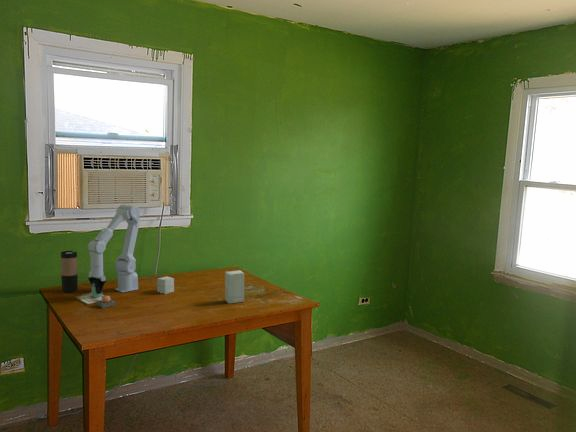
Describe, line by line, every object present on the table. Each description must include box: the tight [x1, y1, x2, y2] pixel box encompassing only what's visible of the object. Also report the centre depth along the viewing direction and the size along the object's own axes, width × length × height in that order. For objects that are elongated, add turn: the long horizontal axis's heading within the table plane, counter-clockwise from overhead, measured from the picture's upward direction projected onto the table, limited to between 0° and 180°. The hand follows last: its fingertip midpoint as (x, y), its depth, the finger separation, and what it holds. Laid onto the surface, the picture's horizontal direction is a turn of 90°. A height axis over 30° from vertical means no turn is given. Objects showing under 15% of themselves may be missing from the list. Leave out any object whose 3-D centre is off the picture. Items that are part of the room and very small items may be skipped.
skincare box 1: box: [157, 276, 175, 295], centre depth 251 cm, size 6×6×7 cm
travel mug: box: [60, 250, 79, 294], centre depth 247 cm, size 8×8×20 cm
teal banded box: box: [91, 283, 103, 297], centre depth 237 cm, size 4×4×6 cm
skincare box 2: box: [224, 269, 245, 304], centre depth 238 cm, size 8×6×15 cm
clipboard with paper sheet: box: [74, 292, 114, 306], centre depth 235 cm, size 12×15×1 cm
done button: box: [102, 295, 111, 303], centre depth 226 cm, size 4×4×3 cm
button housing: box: [96, 298, 116, 309], centre depth 226 cm, size 6×6×2 cm
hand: (97, 292), depth 237 cm, fingers closed on teal banded box, 4 cm apart
